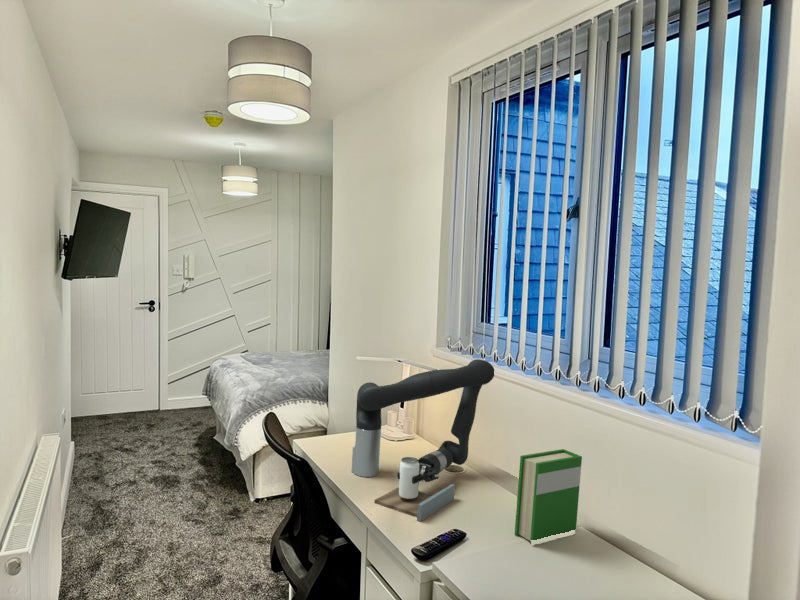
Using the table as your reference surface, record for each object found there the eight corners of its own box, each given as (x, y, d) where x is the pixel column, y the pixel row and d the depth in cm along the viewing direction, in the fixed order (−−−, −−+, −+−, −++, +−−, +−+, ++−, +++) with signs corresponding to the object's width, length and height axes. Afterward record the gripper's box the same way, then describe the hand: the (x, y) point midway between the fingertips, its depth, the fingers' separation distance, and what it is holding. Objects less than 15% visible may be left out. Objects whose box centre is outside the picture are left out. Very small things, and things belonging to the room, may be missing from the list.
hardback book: (532, 546, 166) (538, 464, 165) (514, 535, 173) (520, 455, 171) (575, 534, 175) (581, 456, 174) (557, 524, 182) (563, 449, 180)
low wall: (416, 520, 178) (417, 504, 178) (450, 498, 197) (451, 484, 197) (420, 521, 178) (421, 505, 177) (453, 499, 196) (454, 484, 196)
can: (416, 500, 188) (417, 464, 187) (396, 498, 189) (398, 462, 189) (419, 492, 194) (421, 457, 194) (401, 490, 196) (402, 455, 195)
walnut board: (374, 502, 189) (374, 499, 189) (401, 488, 203) (401, 485, 203) (416, 517, 181) (416, 513, 181) (441, 501, 194) (441, 498, 194)
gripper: (414, 449, 207) (388, 462, 193) (450, 458, 199) (425, 472, 185) (413, 469, 207) (386, 484, 193) (449, 479, 200) (424, 495, 185)
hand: (405, 478), depth 189 cm, fingers closed on can, 5 cm apart
